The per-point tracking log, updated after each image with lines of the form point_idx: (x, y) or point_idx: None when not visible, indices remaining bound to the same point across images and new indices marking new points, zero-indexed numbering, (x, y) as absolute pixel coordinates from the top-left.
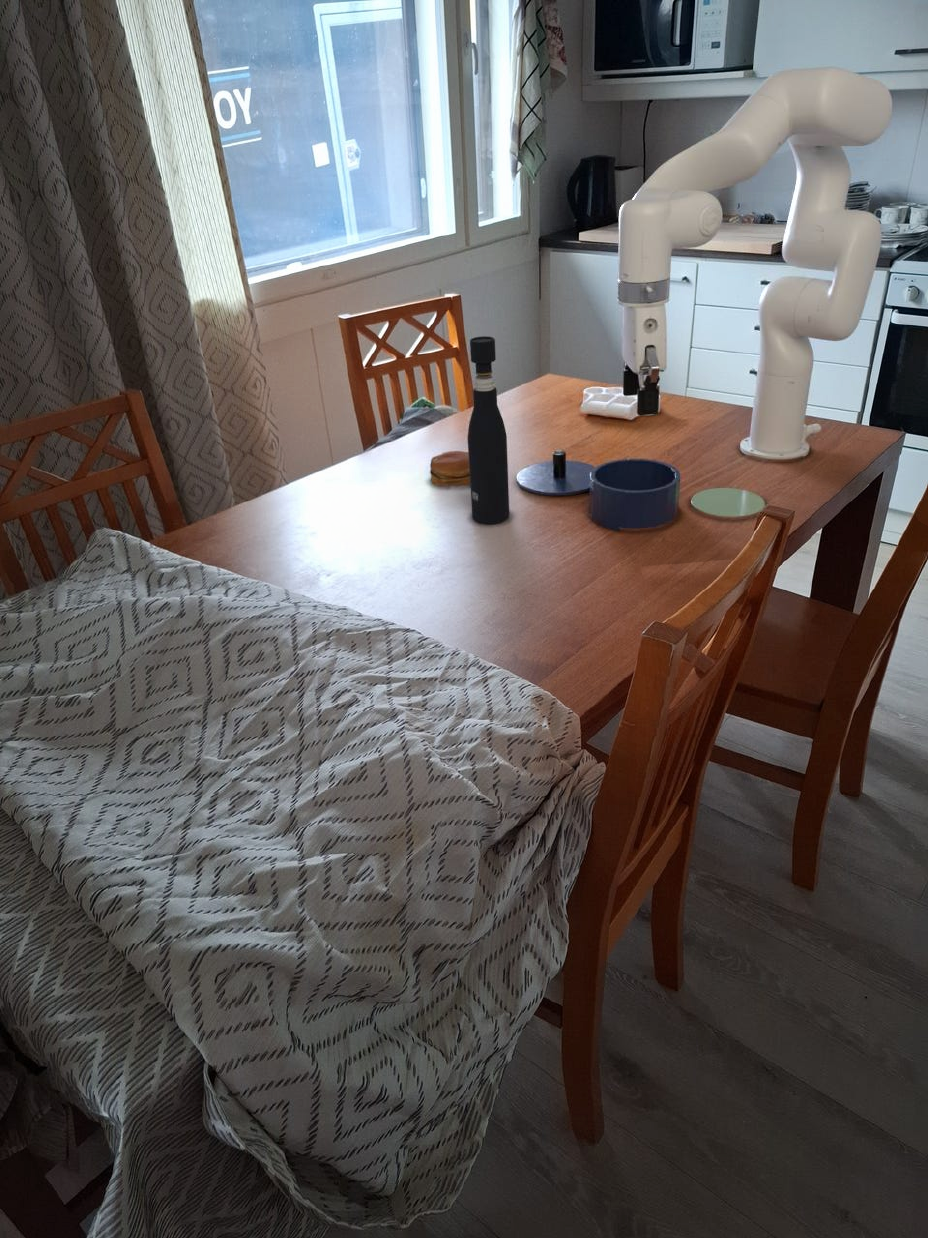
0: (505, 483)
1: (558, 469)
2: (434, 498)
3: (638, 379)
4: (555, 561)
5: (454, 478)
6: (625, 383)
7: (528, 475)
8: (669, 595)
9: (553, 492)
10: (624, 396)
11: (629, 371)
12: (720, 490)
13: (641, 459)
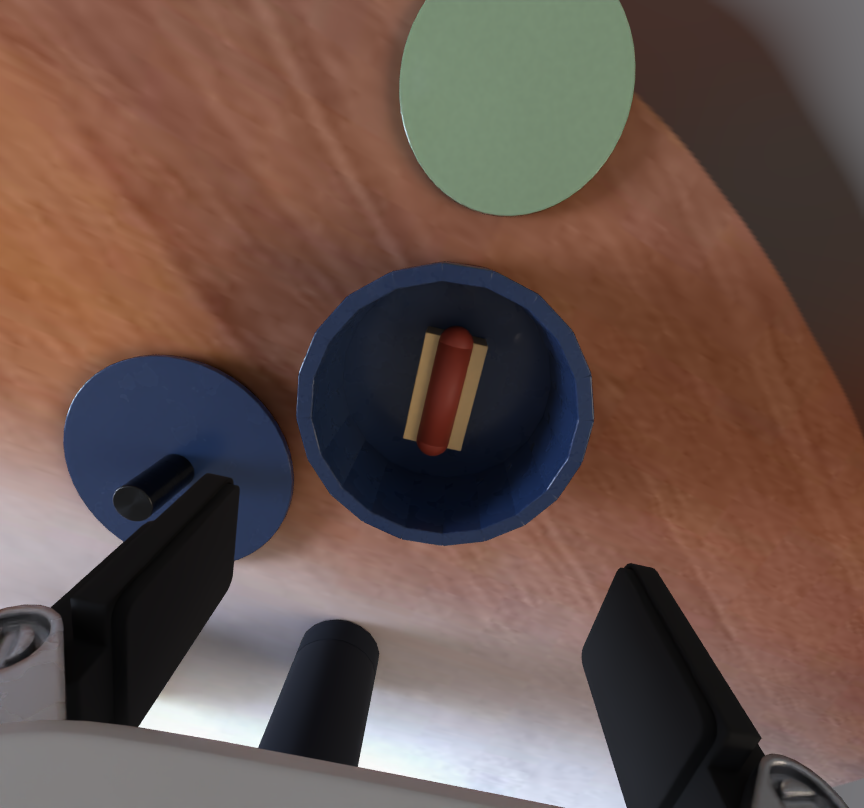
0: (348, 713)
1: (178, 489)
2: (210, 706)
3: (175, 582)
4: (590, 617)
5: None
6: (186, 648)
7: None
8: (851, 493)
9: (280, 520)
10: None
11: (111, 711)
12: (425, 60)
13: (322, 337)
